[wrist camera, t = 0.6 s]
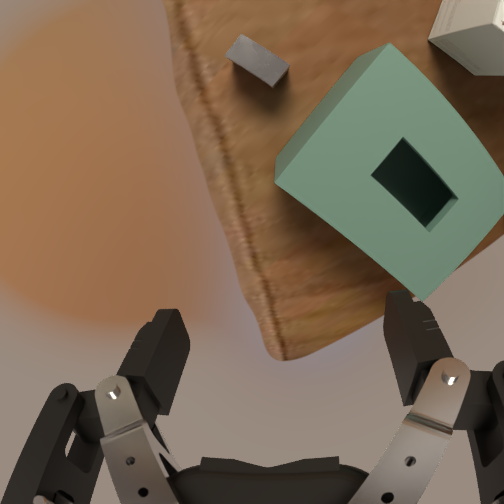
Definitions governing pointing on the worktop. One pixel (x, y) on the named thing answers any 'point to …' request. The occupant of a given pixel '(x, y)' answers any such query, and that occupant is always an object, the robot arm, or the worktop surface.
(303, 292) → the worktop surface
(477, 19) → the supplement box
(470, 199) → the money box
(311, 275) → the worktop surface
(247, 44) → the block
